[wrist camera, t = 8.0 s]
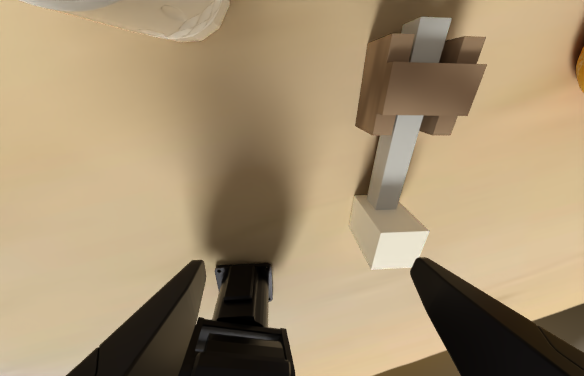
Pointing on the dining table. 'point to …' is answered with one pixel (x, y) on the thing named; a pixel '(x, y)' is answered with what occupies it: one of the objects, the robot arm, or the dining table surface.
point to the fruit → (580, 70)
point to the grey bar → (396, 172)
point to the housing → (418, 84)
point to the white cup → (148, 15)
